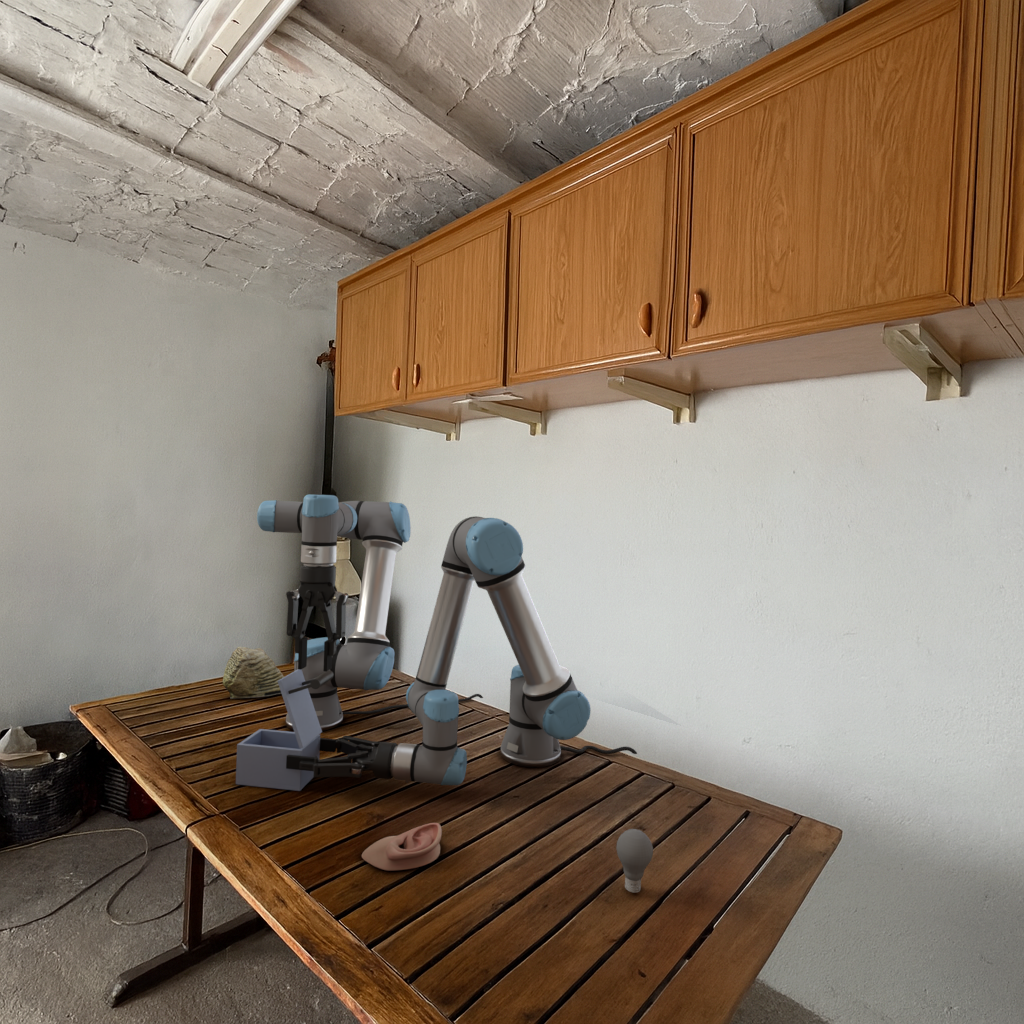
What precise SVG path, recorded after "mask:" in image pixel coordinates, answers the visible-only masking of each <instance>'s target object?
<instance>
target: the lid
mask: <svg viewBox="0 0 1024 1024" xmlns="http://www.w3.org/2000/svg"><path fill="white" fill-rule="evenodd" d="M333 676H334V674H333V672H332V671H330V670H328V671H327V672H324V673H322V674H321V675H319V676H318V677H316V678H314V679H311V680H307V681H305V679H304V676H303V673H302V670H300V669H298V670H296V671H294V670H293V671H292V672H291V673H289V674H287V675H285V676H284V678H282V679H280V680H278V684H279V687H280V690H281V693H280V694H281V696H282V699H283V703H284V705H285V709H286V711H287V713H288V714H289V717H290V721H291V724H292V727H293V730H292V731H293V732H294V733H295V736H296V739H297V742H298V745H299V748H300V749H301V748H304V747H305V746H306V745H307V744H308V743H310V742H311V741H312V740H313V739H314V738H315V737H317V736H318V735H319V734H320V735H321V733H323V731H322V730H321V727H320V724H319V721H318V718H317V715H316V712H315V709H314V706H313V703H312V700H311V697H310V694H309V691H308V688H310V687H312V688H313V689H318V688H319V687H321V686H322V685H324V684H325V683H327V682H328V681H330V680H331V679H332V678H333ZM309 683H310V684H309ZM306 684H308V685H306Z"/></svg>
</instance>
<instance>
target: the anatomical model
mask: <svg viewBox="0 0 1024 1024" xmlns="http://www.w3.org/2000/svg"><path fill="white" fill-rule="evenodd" d="M442 835H443V829H442V826H441V824H440V823H439V822H430V823H425V824H422V825H419V826H417V827H414V828H412V829H410V830H407V831H404V832H402V833H399V834H397V835H389V836H385V837H383V838H381V839H379V840H377V841H375V842H373V843H372V844H370V845H369V846H368V847H367V848H366V849H364V851H362V852H361V853H362V854H361V858H362V859H363V861H365V862H366V863H368V864H370V865H371V866H373V867H375V868H377V869H379V870H384V871H387V872H389V871H390V872H391V871H403V870H412V869H416V868H419V867H423V866H426V865H428V864H431V863H433V862H434V861H435V860H437V859H439V856H440V855H441V844H440V842H441V839H442Z"/></svg>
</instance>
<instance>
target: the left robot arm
mask: <svg viewBox="0 0 1024 1024" xmlns="http://www.w3.org/2000/svg"><path fill="white" fill-rule="evenodd" d="M256 520H257V521H256V522H257V525H258V527H259V529H260V530H262V531H263V532H269V533H270V532H271V533H291V534H301V543H300V544H301V550H300V562H301V563H302V564H301V566H300V570H299V571H300V573H299V581H300V583H299V586H298V588H297V589H291V590H289V591H287V592H286V593H285V596H286V600H287V619H286V635H287V636H288V637H292V638H294V653H295V654H294V659H293V661H294V670H293V672H294V671H296V670H298V669H300V670H302V673H303V676H304V679H305V681H307V680H311V679H314V678H316V677H318V676H319V675H321V674H322V673H324V672H327V671H328V670H330V671H332V672H333V674H334V676H333V678H332V679H331V680H330V681H328V682H327V683H325V684H324V685H322V686H321V687H319V688H318V689H313V688H312V687H310V688H308V691H309V694H310V697H311V700H312V703H313V706H314V709H315V712H316V715H317V718H318V721H319V724H320V727H321V730H322V732H325V731H329V730H332V729H335V728H337V727H339V726H340V725H342V723H343V722H344V716H347V715H372V714H376V713H381V712H384V711H388V710H393V709H401V708H409V706H408V703H406V704H396V705H389V706H385V707H381V708H378V709H374V710H353V711H352V710H351V711H343V709H342V706H341V702H340V699H339V695H338V688H340V689H354V690H364V691H379V690H382V689H383V688H384V687H385V686H386V685H387V684H388V682H389V680H390V678H391V675H392V673H393V670H394V664H395V650H394V648H393V647H391V646H390V640H389V639H388V637H387V635H386V632H387V631H386V630H387V624H388V617H389V608H390V603H391V602H390V601H391V593H392V587H393V581H394V580H393V579H394V571H395V565H396V556H397V554H398V553H399V552H400V551H401V550H402V549H403V545H404V544H406V543H408V542H409V541H410V538H411V518H410V514H409V510H408V508H407V506H406V505H405V504H404V503H402V502H393V501H374V500H373V501H371V500H370V501H369V500H347V501H339V498H338V496H336V495H334V494H309V493H308V494H306V495H304V497H303V500H302V501H294V500H293V501H292V500H277V499H274V500H264V501H262V502H261V503H260V504H259V506H258V509H257V515H256ZM338 537H340V538H346V539H351V540H359V541H361V543H362V544H361V545H362V546H363V547H364V549H365V550H366V551H365V558H364V564H363V571H362V578H361V584H360V591H359V598H358V604H357V611H356V618H355V625H354V631H353V632H352V633H351V634H350V635H349V636H348V637H347V641H346V644H341V641H340V640H341V639H343V638H344V637H346V622H347V621H346V616H347V613H346V612H347V602H348V599H349V594H348V593H347V592H341V591H339V590H338V589H337V586H336V579H337V577H336V576H337V566H336V565H334V564H336V563H337V550H338V549H337V547H338ZM403 543H404V544H403ZM300 597H301V599H302V601H303V602H302V605H301V612H300V615H298V613H299V599H300ZM334 597H335V602H336V608H335V609H336V613H335V618H334V615H333V610H332V609H333V606H332V600H333V599H334ZM314 607H317V608H319V609H320V612H321V615H322V618H323V623H324V627H325V632H326V636H325V637H316V638H312V639H308V637H305V636H306V631H307V627H308V624H309V620H310V617H311V614H312V610H313V609H314ZM298 616H299V617H298ZM298 618H299V619H298ZM309 684H310V683H309ZM306 685H308V684H306ZM477 697H478V698H480V699H483V698H484V697H483V695H482V694H480V693H475V694H473V695H472V694H471V696H469V697H465V699H464V698H458V703H463V702H467V701H471V700H473V699H474V698H477ZM285 726H286V728H287V729H289V730H291V731H294V730H293V727H292V724H291V721H290V717H289V714H288V712H287V713H286V715H285Z"/></svg>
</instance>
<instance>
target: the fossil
mask: <svg viewBox="0 0 1024 1024" xmlns="http://www.w3.org/2000/svg"><path fill="white" fill-rule="evenodd" d="M222 676H223V677H222V685H223V687H224V688H225V690H226V691H228V693H229V698H230V699H250V698H264V697H271V696H275V695H281V694H282V693H281V690H280V687H279V684H278V680H280V679H282V678H284V677H285V676H284V674H283V673H282V672H281V669H279V668H278V667H277V665H276V663H275V662H274V660H273V659H272V658H271V657H270V656H269V655H268V654H267V653H266V652H265V650H264V649H263V648H260V647H258V648H251V647H247V646H246V647H245V646H238V647H237V648H236V649H235V650H233V651H232V653H231V656H230V657H229V659H228V660H227V663H226V666H225V668H224V671H223V675H222Z"/></svg>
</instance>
